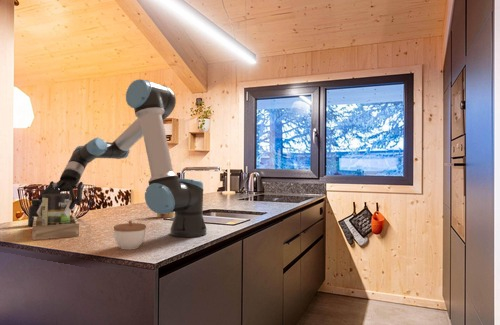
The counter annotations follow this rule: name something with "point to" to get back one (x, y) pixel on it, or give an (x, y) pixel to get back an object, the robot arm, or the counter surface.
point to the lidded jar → (129, 235)
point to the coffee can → (55, 208)
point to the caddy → (55, 229)
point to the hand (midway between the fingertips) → (52, 214)
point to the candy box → (165, 214)
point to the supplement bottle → (33, 211)
